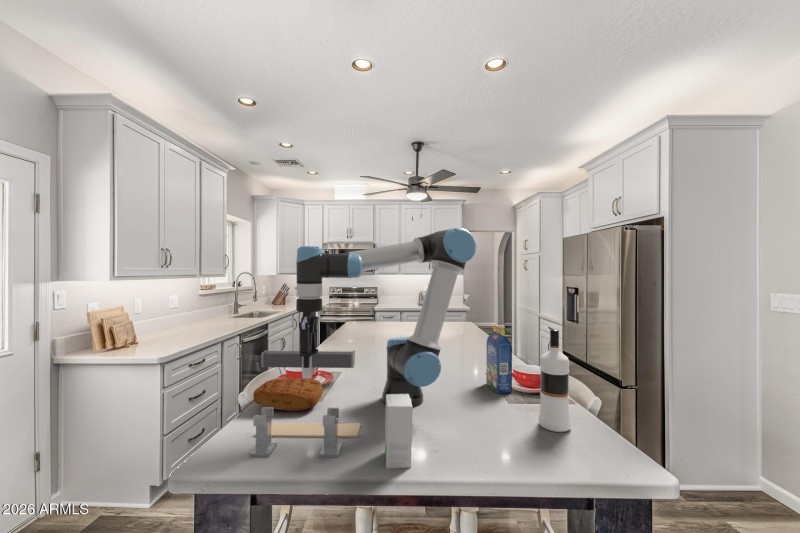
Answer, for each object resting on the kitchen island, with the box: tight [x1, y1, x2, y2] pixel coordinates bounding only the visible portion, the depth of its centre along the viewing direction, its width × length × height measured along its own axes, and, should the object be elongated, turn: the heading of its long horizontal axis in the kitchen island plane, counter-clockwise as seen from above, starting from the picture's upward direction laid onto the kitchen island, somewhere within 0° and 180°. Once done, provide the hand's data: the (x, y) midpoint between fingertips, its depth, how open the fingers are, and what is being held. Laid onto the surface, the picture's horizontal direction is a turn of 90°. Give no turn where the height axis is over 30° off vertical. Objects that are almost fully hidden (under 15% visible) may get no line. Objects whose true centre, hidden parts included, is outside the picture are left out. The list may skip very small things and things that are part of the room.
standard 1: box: [249, 406, 278, 458], centre depth 96 cm, size 5×6×10 cm
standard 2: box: [318, 407, 343, 458], centre depth 96 cm, size 5×6×10 cm
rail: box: [260, 349, 356, 369], centre depth 108 cm, size 27×4×4 cm, turn 89°
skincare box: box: [384, 394, 414, 470], centre depth 92 cm, size 8×7×16 cm
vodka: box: [537, 328, 572, 433], centre depth 111 cm, size 9×9×30 cm
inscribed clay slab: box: [252, 377, 324, 412], centre depth 128 cm, size 22×17×8 cm
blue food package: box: [485, 324, 513, 394], centre depth 146 cm, size 6×12×25 cm, turn 6°
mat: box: [253, 422, 361, 438], centre depth 108 cm, size 30×8×1 cm, turn 89°
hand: (308, 375), depth 108 cm, fingers closed on rail, 3 cm apart
